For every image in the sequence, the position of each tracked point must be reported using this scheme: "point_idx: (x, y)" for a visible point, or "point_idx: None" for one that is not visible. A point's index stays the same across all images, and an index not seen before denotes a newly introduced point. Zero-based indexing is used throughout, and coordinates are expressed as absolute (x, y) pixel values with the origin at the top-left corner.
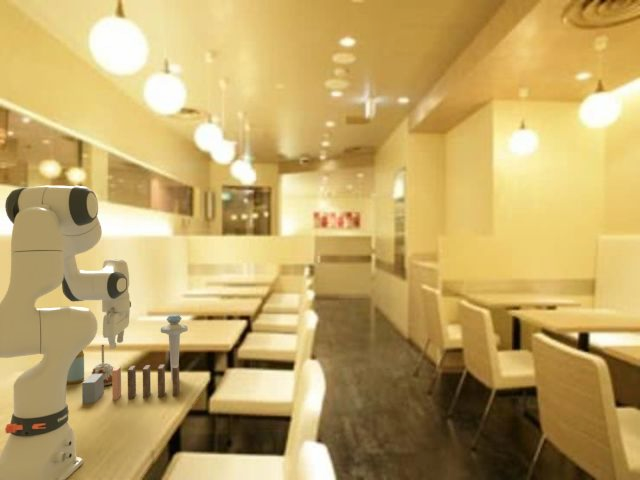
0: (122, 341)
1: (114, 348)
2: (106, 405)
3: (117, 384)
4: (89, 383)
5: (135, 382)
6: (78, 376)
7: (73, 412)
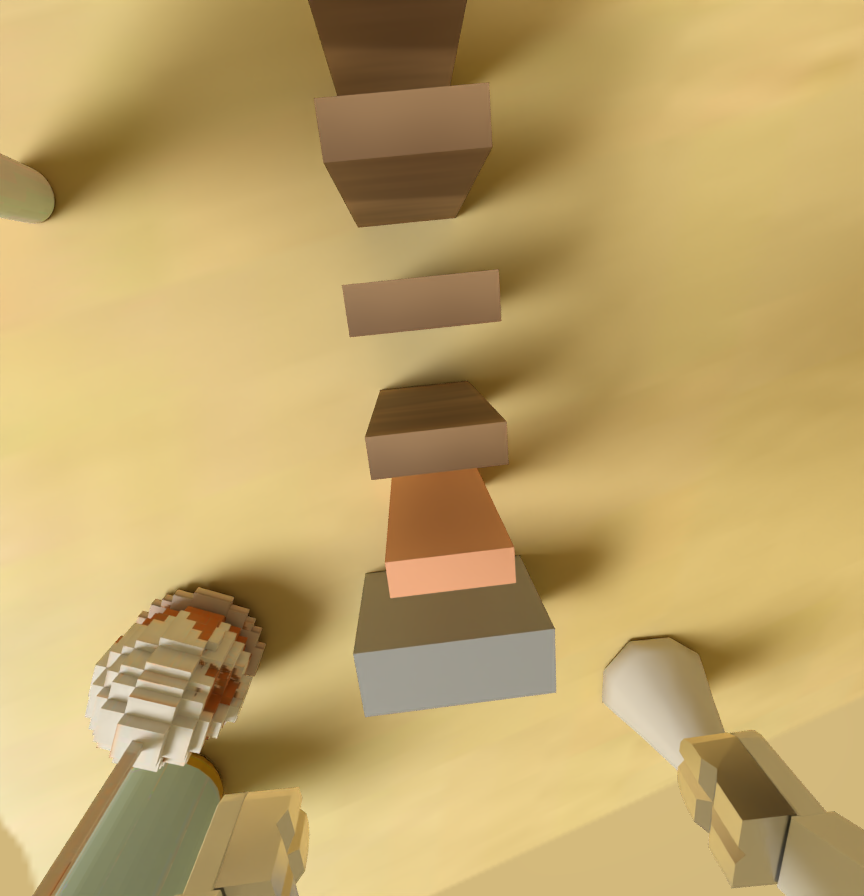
0: (267, 795)
1: (750, 731)
2: (565, 484)
3: (485, 497)
4: (554, 651)
5: (386, 403)
6: (186, 787)
7: (636, 595)
